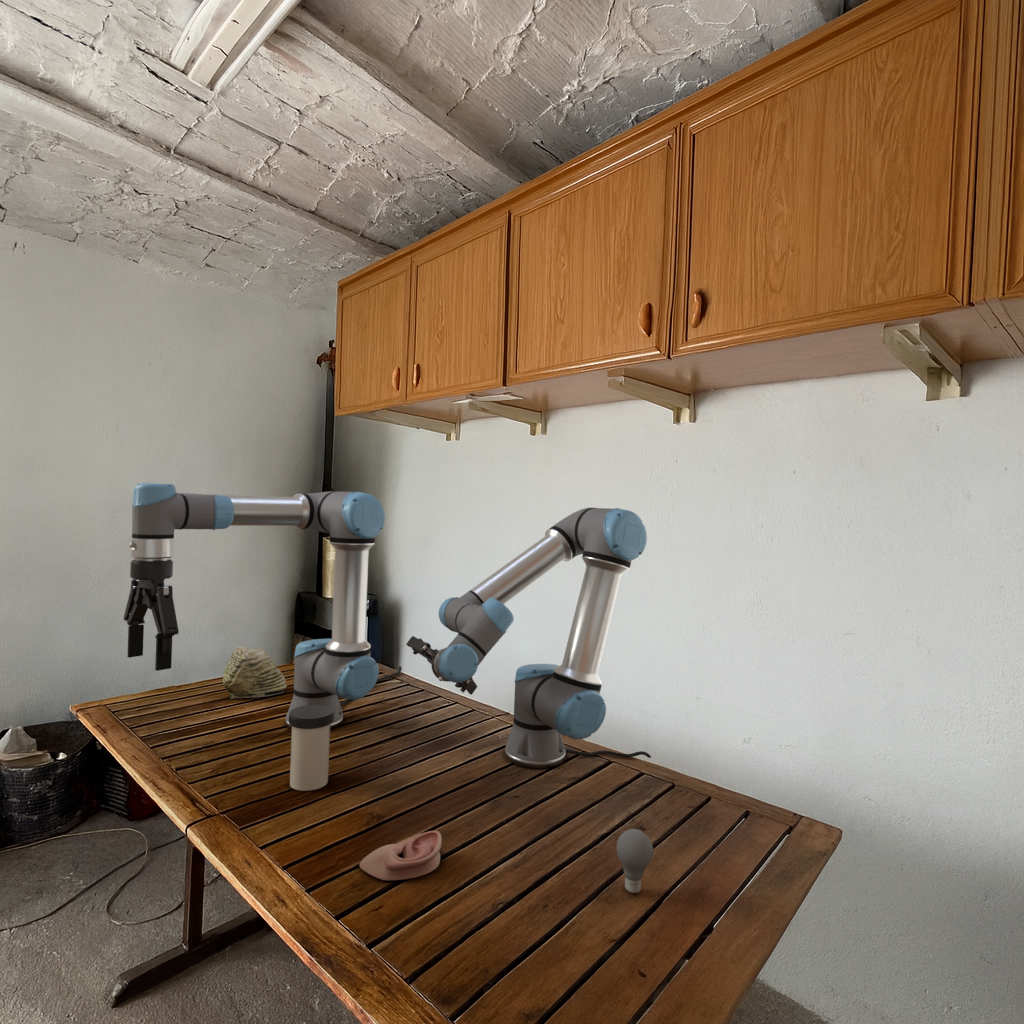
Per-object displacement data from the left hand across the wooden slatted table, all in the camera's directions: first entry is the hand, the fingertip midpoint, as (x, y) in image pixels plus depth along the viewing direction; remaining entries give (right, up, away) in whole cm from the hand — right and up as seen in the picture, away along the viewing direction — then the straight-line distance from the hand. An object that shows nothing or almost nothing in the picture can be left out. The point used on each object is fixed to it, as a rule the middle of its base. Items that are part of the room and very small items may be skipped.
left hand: (148, 662), depth 129 cm
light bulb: (+94, -33, -24) cm, 103 cm away
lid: (+30, -14, +11) cm, 35 cm away
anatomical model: (+55, -31, -18) cm, 66 cm away
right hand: (+55, -9, +33) cm, 65 cm away
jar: (+29, -29, +11) cm, 43 cm away
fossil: (-6, -27, +69) cm, 74 cm away
